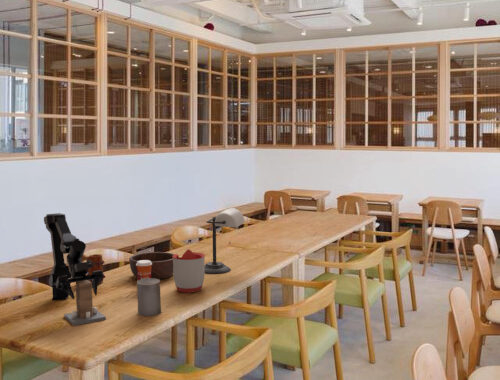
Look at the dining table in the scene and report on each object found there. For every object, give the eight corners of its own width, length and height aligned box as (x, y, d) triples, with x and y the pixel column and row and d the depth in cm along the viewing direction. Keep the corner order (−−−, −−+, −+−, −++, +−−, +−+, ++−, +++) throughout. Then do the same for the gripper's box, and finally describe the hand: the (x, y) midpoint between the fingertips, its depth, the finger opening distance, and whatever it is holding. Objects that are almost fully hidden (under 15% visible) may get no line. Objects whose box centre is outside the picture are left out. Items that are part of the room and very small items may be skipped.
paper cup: (137, 292, 270) (136, 263, 269) (135, 288, 278) (135, 260, 276) (153, 291, 273) (153, 262, 271) (152, 287, 280) (151, 259, 278)
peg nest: (64, 317, 236) (64, 308, 235) (95, 311, 243) (94, 302, 243) (74, 325, 225) (73, 316, 225) (105, 319, 232) (105, 310, 232)
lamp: (235, 277, 297) (234, 213, 293) (191, 275, 302) (190, 212, 299) (247, 265, 322) (247, 206, 319) (206, 263, 328) (205, 205, 324)
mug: (107, 280, 293) (106, 251, 291) (103, 284, 285) (102, 255, 283) (78, 280, 292) (77, 252, 291) (74, 285, 284) (73, 255, 283)
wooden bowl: (125, 272, 308) (124, 254, 307) (169, 268, 319) (169, 250, 318) (135, 284, 286) (135, 264, 285) (183, 278, 296) (183, 259, 295)
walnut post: (76, 314, 235) (75, 281, 233) (88, 312, 237) (87, 280, 236) (80, 318, 230) (79, 284, 229) (92, 315, 233) (91, 282, 232)
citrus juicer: (193, 282, 287) (192, 244, 285) (211, 290, 273) (211, 249, 271) (165, 288, 278) (164, 248, 276) (183, 296, 264) (182, 254, 262)
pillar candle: (150, 307, 248) (149, 273, 246) (165, 311, 242) (164, 277, 240) (133, 313, 241) (131, 278, 239) (148, 317, 234) (146, 282, 233)
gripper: (56, 257, 229) (65, 290, 221) (101, 251, 240) (111, 282, 232) (52, 272, 237) (60, 304, 229) (95, 266, 247) (105, 296, 239)
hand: (85, 296), depth 232 cm, fingers open, 9 cm apart
